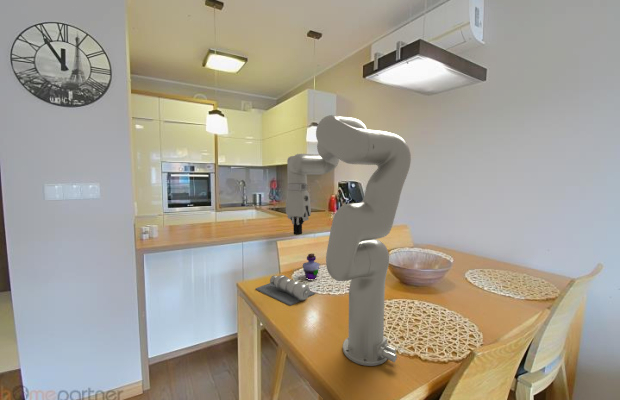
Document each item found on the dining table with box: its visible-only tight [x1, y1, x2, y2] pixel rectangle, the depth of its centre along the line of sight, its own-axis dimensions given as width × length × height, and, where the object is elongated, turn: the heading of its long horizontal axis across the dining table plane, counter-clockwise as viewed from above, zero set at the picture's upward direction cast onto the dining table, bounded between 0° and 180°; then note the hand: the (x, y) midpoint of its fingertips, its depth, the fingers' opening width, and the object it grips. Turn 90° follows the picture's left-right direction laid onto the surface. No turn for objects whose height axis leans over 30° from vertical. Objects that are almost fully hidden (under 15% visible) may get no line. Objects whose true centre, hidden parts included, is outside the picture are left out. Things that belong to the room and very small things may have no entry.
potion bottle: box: [302, 253, 321, 279], centre depth 129 cm, size 9×9×12 cm
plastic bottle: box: [269, 274, 311, 302], centre depth 111 cm, size 6×7×20 cm
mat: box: [255, 282, 316, 307], centre depth 114 cm, size 22×14×1 cm, turn 47°
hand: (297, 234), depth 106 cm, fingers closed
